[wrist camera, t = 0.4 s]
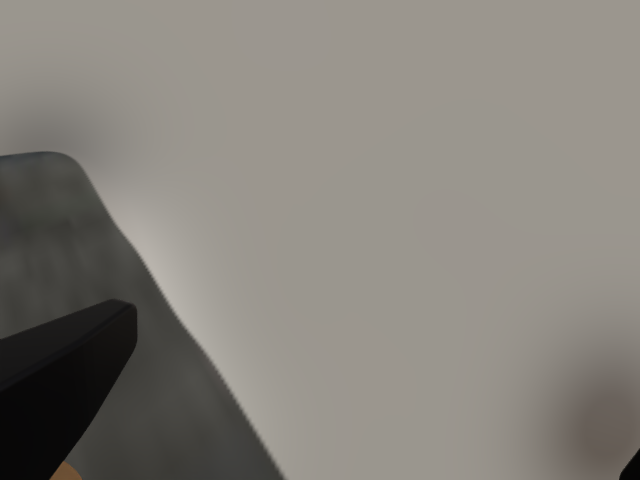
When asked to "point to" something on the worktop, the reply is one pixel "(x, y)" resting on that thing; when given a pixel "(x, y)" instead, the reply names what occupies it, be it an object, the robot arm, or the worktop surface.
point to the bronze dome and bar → (65, 473)
